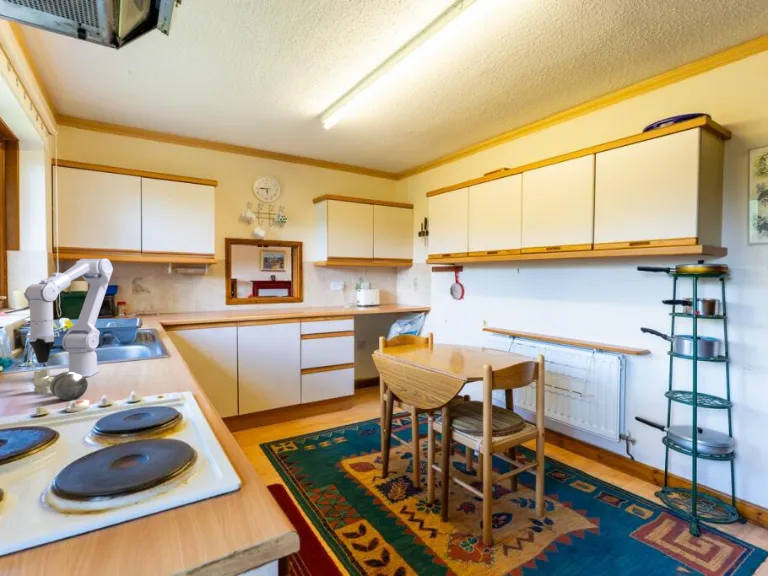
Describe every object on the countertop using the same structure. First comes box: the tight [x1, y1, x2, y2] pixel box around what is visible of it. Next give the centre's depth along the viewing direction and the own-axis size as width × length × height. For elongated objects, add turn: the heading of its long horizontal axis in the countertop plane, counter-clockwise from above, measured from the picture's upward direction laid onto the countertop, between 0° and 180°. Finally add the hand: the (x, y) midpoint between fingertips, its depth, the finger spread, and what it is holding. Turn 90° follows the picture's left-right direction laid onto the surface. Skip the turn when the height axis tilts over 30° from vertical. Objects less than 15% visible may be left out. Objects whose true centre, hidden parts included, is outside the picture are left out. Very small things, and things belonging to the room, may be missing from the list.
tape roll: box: [65, 399, 90, 413], centre depth 109 cm, size 5×5×2 cm
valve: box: [32, 369, 55, 394], centre depth 125 cm, size 7×7×12 cm
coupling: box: [49, 371, 89, 402], centre depth 118 cm, size 5×8×8 cm, turn 145°
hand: (42, 362), depth 131 cm, fingers closed
